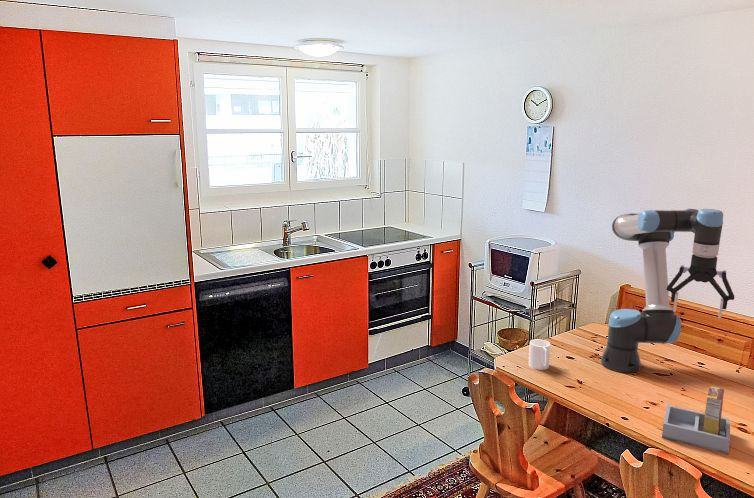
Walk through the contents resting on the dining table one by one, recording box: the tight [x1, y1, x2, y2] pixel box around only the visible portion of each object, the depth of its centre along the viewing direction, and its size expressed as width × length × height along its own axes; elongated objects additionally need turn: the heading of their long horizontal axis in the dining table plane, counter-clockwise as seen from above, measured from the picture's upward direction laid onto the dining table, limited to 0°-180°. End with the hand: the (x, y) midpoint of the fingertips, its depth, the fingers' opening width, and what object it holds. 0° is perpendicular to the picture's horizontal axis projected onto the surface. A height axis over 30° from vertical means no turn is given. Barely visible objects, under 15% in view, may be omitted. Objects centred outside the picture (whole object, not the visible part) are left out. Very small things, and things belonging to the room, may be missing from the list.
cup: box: [528, 338, 551, 371], centre depth 227 cm, size 8×12×10 cm
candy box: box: [703, 385, 725, 435], centre depth 174 cm, size 9×4×15 cm, turn 143°
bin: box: [661, 404, 731, 455], centre depth 177 cm, size 18×14×5 cm
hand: (696, 314), depth 191 cm, fingers open, 13 cm apart
